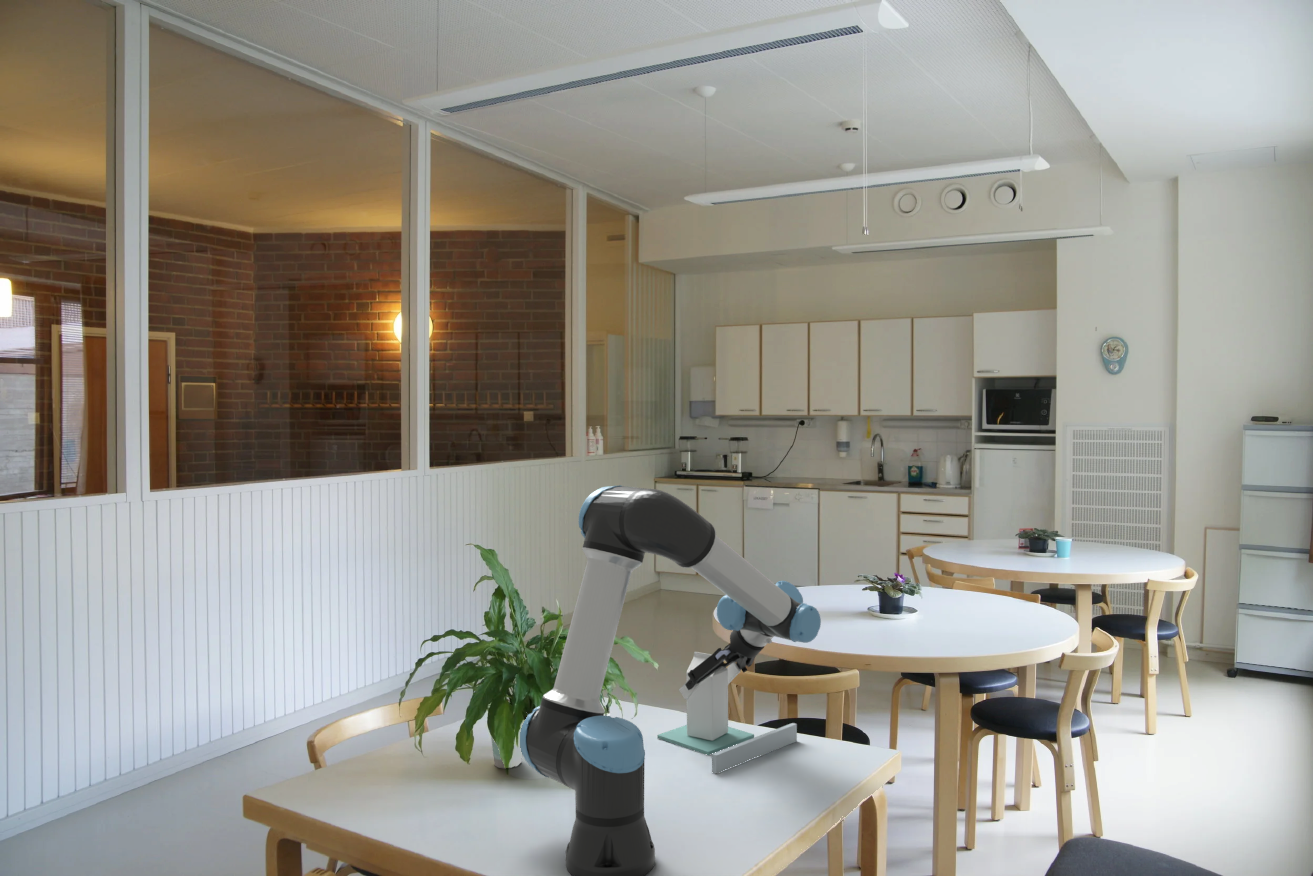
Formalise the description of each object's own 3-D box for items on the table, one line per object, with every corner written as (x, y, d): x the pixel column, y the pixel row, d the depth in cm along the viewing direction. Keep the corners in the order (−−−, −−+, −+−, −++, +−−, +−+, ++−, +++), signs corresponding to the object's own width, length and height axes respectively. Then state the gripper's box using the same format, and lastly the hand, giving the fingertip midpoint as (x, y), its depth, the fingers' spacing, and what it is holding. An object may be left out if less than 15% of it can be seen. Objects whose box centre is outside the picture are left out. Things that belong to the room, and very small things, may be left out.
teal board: (708, 755, 211) (708, 751, 211) (657, 738, 222) (657, 735, 222) (754, 737, 222) (754, 734, 222) (703, 722, 234) (703, 719, 234)
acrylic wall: (716, 774, 200) (716, 755, 200) (711, 772, 201) (711, 754, 201) (796, 741, 220) (796, 724, 220) (792, 740, 221) (792, 723, 220)
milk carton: (712, 741, 217) (712, 659, 217) (686, 736, 222) (686, 655, 221) (728, 733, 223) (727, 652, 223) (702, 727, 227) (702, 648, 227)
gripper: (724, 659, 201) (674, 714, 212) (795, 638, 219) (745, 690, 230) (706, 630, 205) (657, 686, 216) (777, 612, 222) (729, 664, 233)
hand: (702, 688), depth 223 cm, fingers open, 13 cm apart
